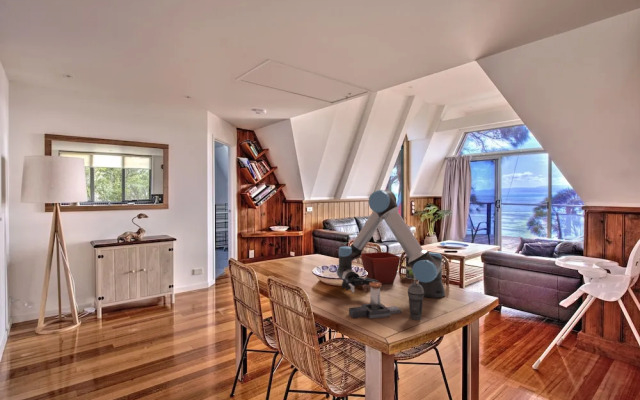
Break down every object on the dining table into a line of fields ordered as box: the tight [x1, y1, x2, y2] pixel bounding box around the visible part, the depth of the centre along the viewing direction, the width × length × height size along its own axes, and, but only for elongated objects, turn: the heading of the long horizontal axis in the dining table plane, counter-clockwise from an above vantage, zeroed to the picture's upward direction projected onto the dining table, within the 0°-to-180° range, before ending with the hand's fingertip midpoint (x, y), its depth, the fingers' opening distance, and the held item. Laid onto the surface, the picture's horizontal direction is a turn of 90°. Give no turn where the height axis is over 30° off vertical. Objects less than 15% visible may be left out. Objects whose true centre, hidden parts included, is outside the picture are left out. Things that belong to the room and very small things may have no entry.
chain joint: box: [348, 302, 402, 319], centre depth 156 cm, size 24×10×3 cm, turn 106°
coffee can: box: [405, 255, 418, 281], centre depth 220 cm, size 10×10×14 cm
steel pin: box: [368, 282, 383, 310], centre depth 156 cm, size 6×6×14 cm
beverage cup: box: [407, 273, 425, 321], centre depth 150 cm, size 7×7×20 cm
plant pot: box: [360, 251, 401, 285], centre depth 211 cm, size 19×19×17 cm
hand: (366, 288), depth 165 cm, fingers open, 13 cm apart
